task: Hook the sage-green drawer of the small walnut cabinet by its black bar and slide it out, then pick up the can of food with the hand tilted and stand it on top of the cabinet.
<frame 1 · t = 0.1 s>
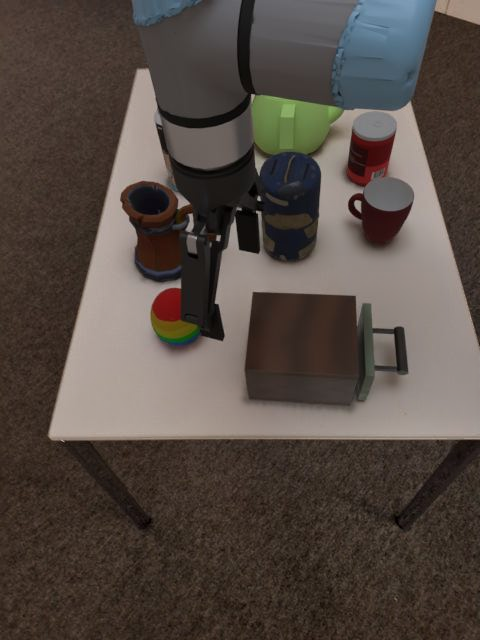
hand: (232, 290, 60), 18 cm above the table, tool pointing down, fingers open, 13 cm apart
decorative egg: (182, 332, 78), on the table
canned food: (366, 174, 95), on the table
mug: (371, 234, 87), on the table
teapot: (297, 137, 103), on the table
figurine: (197, 131, 107), on the table
printed cylinder container: (186, 181, 98), on the table
cabinet: (300, 364, 73), on the table
canister: (289, 245, 87), on the table
potion bottle: (225, 197, 95), on the table
mug 2: (184, 259, 87), on the table
drawer: (338, 350, 69), point 5 cm above the table, slide at 1.0 cm
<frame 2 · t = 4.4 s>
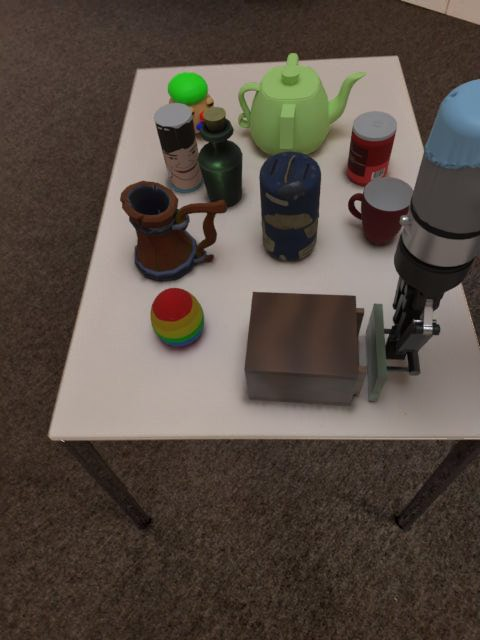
hand: (393, 354, 68), 5 cm above the table, tool pointing down, fingers closed
drawer: (349, 351, 69), point 5 cm above the table, slide at 2.6 cm
everything else where it was.
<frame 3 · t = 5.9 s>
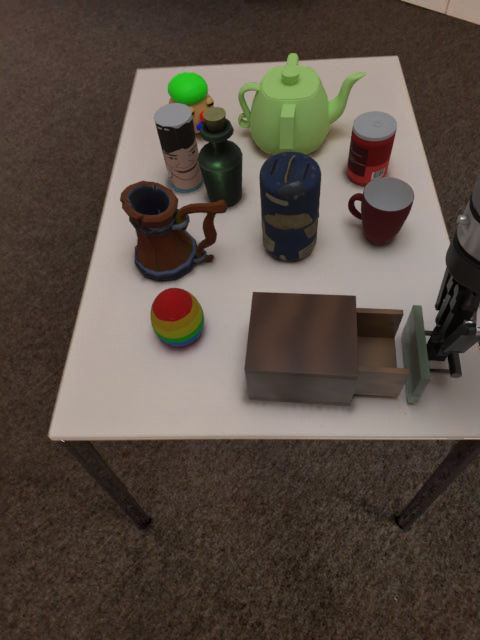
hand: (433, 356, 67), 5 cm above the table, tool pointing down, fingers closed
drawer: (387, 353, 68), point 5 cm above the table, slide at 7.9 cm
everything else where it was.
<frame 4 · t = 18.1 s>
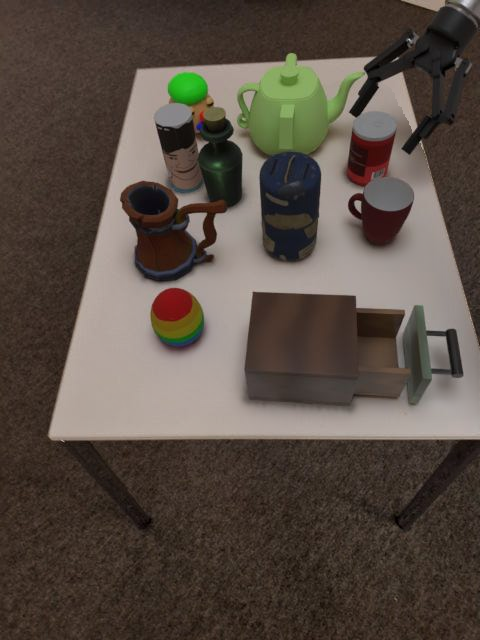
hand: (378, 133, 89), 8 cm above the table, tool tilted 45°, fingers open, 13 cm apart
teapot: (296, 137, 103), on the table, touching gripper
everything else where it was.
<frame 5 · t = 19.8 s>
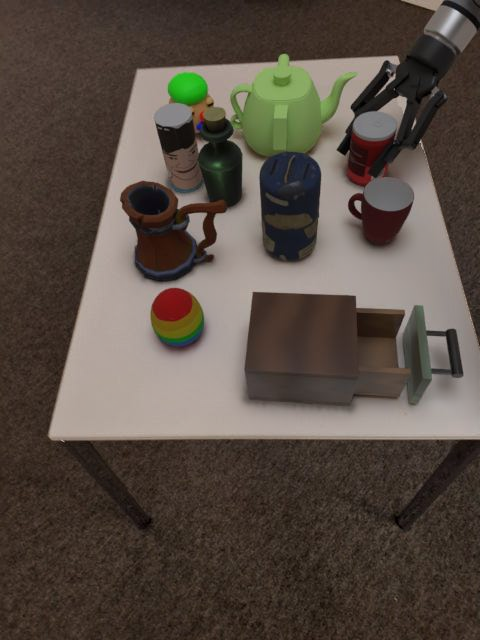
hand: (355, 163, 91), 4 cm above the table, tool tilted 45°, fingers closed on canned food, 8 cm apart
canned food: (366, 174, 95), on the table, touching gripper
teapot: (290, 137, 103), on the table
everything else where it was.
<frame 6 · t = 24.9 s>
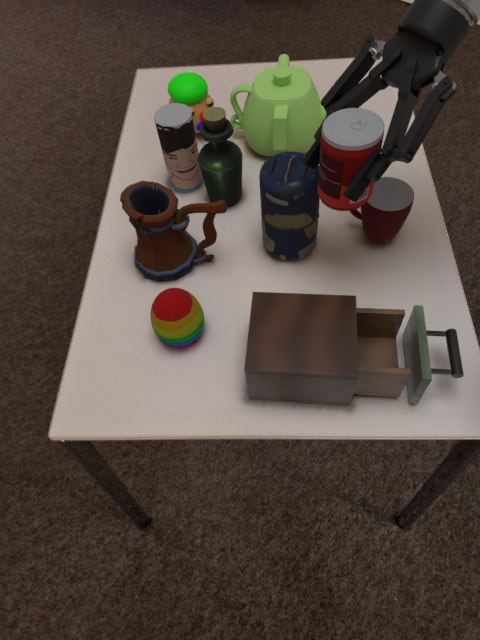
hand: (328, 181, 65), 21 cm above the table, tool tilted 45°, fingers closed on canned food, 8 cm apart
canned food: (344, 194, 69), point 16 cm above the table, touching gripper
everything else where it was.
when the fingers open (14 cm above the table, at t = 30.3 s): canned food stays where it is, resting on cabinet.
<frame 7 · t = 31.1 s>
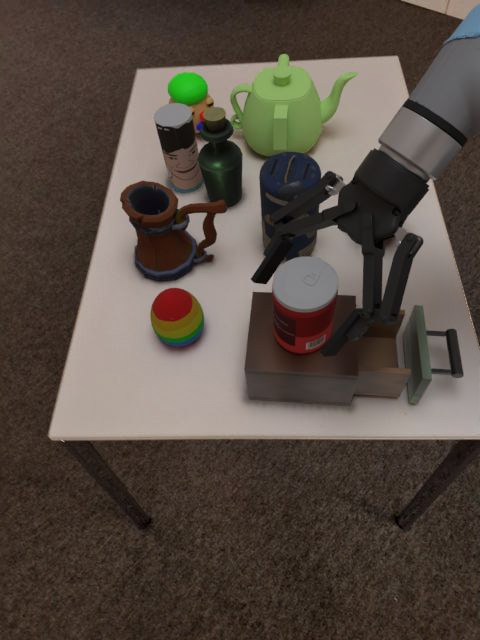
hand: (290, 316, 60), 16 cm above the table, tool tilted 45°, fingers open, 13 cm apart
canned food: (302, 331, 66), point 9 cm above the table, touching cabinet
everything else where it was.
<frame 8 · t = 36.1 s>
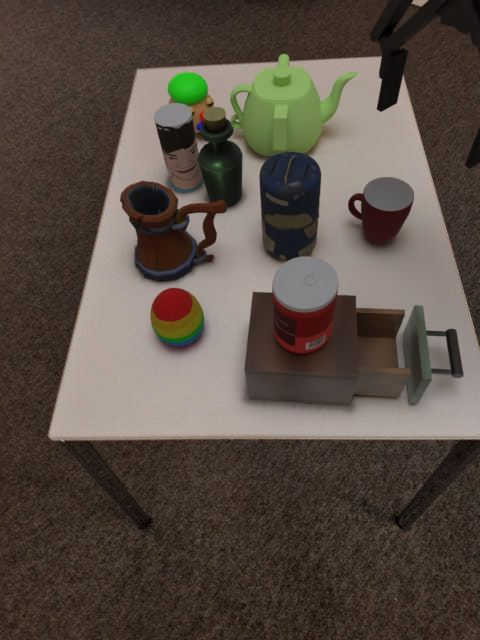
hand: (428, 132, 56), 29 cm above the table, tool pointing down, fingers open, 13 cm apart
nothing on the table moved.
at the end: drawer slide at 8.1 cm; canned food inside the target area on the cabinet (0.1 cm from its centre), point 9.4 cm above the cabinet's base; canned food tilted 0° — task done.
